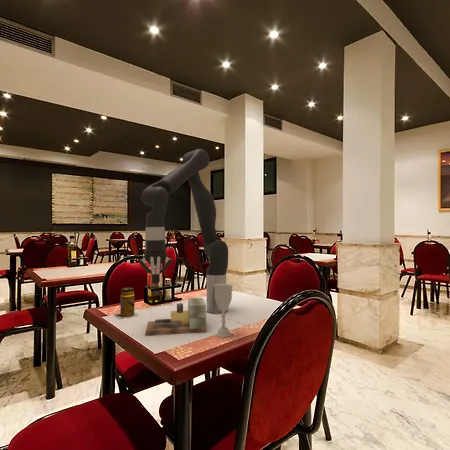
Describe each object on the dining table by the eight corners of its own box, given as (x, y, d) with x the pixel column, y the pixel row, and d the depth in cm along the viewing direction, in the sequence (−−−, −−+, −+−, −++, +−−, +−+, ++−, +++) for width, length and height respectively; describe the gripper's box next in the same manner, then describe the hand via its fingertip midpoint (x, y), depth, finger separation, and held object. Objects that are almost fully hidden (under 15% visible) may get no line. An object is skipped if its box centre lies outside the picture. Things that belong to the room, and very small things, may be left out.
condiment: (137, 316, 136) (137, 288, 136) (117, 319, 131) (117, 291, 132) (132, 312, 142) (132, 286, 142) (113, 315, 138) (113, 288, 138)
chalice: (225, 330, 117) (225, 282, 117) (237, 335, 111) (237, 285, 112) (209, 334, 112) (209, 285, 112) (221, 339, 107) (221, 287, 107)
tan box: (196, 322, 122) (196, 302, 122) (197, 324, 119) (196, 304, 119) (170, 323, 120) (170, 303, 120) (170, 325, 117) (170, 305, 117)
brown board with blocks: (202, 322, 127) (202, 297, 127) (205, 332, 115) (205, 305, 115) (147, 325, 123) (147, 300, 123) (145, 335, 111) (145, 307, 111)
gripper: (172, 238, 123) (173, 281, 123) (138, 238, 121) (139, 282, 121) (172, 239, 116) (173, 284, 116) (136, 239, 114) (137, 286, 114)
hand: (155, 283), depth 118 cm, fingers closed
